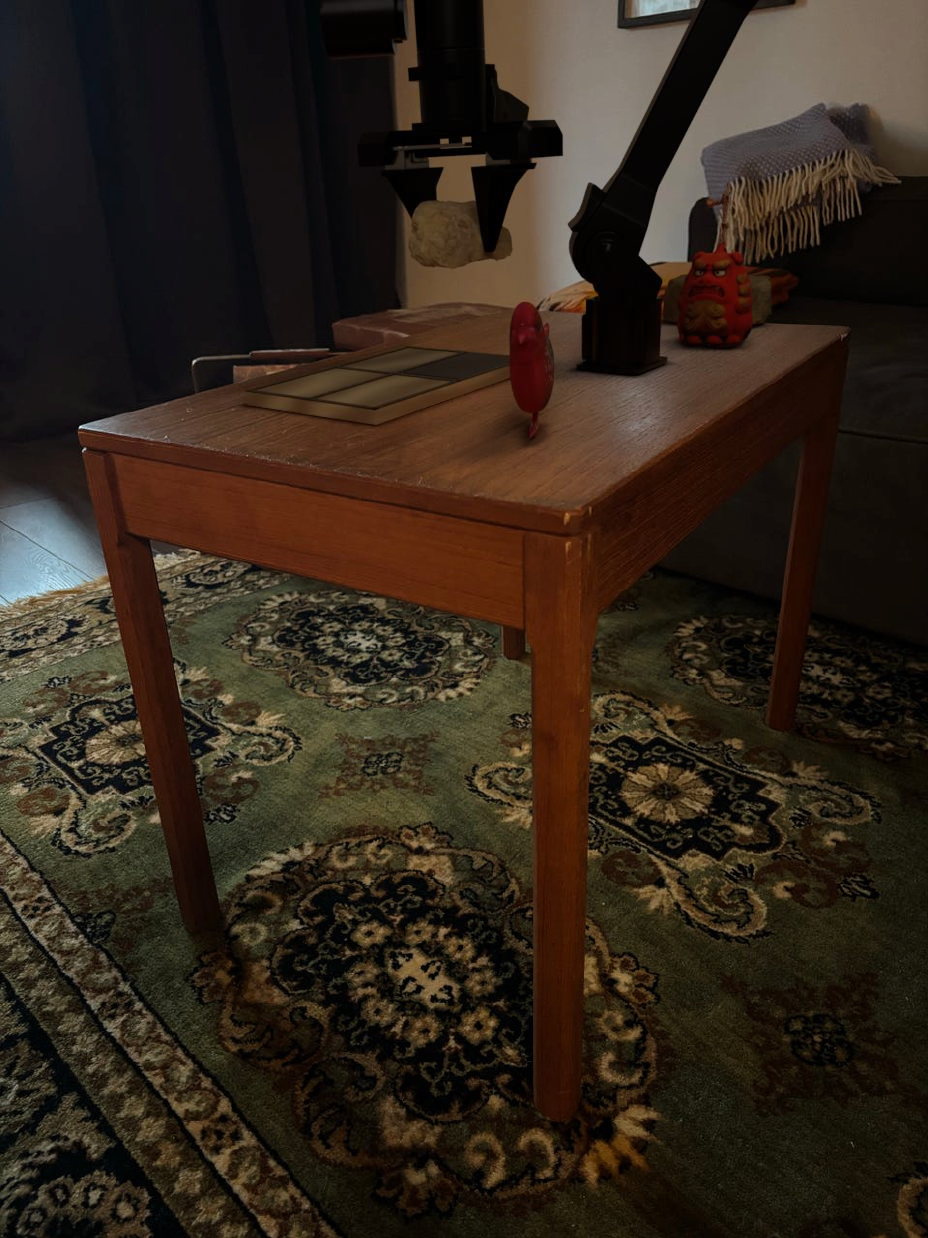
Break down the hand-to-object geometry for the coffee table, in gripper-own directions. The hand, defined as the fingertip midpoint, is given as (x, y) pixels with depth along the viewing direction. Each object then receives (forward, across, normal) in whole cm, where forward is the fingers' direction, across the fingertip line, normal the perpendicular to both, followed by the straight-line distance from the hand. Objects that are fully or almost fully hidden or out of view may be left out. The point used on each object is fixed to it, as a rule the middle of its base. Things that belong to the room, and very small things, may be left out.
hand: (461, 251), depth 87 cm
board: (+11, +2, +8) cm, 14 cm away
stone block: (+11, -10, -34) cm, 37 cm away
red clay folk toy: (+11, -15, -22) cm, 29 cm away
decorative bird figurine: (+11, -17, +13) cm, 24 cm away
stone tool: (+1, 0, 0) cm, 1 cm away
